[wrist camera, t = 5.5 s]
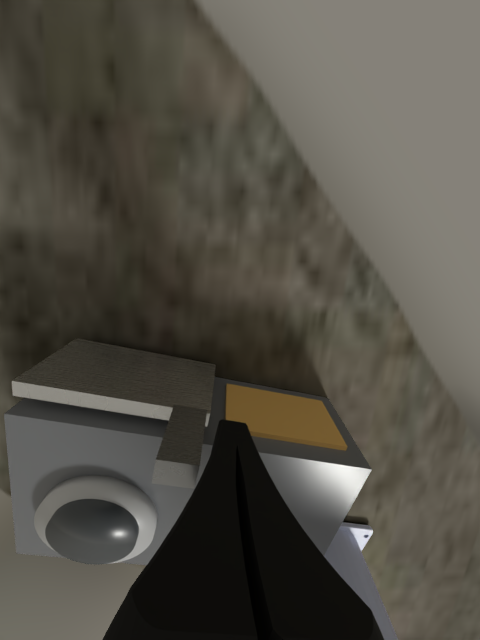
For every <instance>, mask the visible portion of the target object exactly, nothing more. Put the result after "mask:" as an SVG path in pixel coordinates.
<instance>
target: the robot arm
mask: <svg viewBox="0 0 480 640" xmlns="http://www.w3.org/2000/svg"><path fill="white" fill-rule="evenodd" d="M372 534H373V530H372V528H371V526H369V525H362V524H354V523H346V522H342V524H341V526H340V527H339V529H338V531H337V533H336V535H335V536H334V538H333V540H332V542H331V544H330V545H329V547H328V549H327V551H326V553H325V555H324V556H323V555H322V553H321V552H320V551H319V549H318V548H317V547H316V545H315V544H314V543H313V541H312V540H311V539H310V537H309V536H308V535H307V533H306V532H305V531H304V529H303V528H302V527H301V525H300V524H299V522H298V521H297V519H296V518H295V516H294V515H293V514H292V512H291V511H290V509H289V507H288V506H287V504H286V503H285V501H284V499H283V498H282V496H281V495H280V493H279V491H278V489H277V488H276V486H275V484H274V482H273V480H272V479H271V477H270V475H269V473H268V471H267V469H266V467H265V465H264V463H263V461H262V459H261V457H260V455H259V453H258V450H257V448H256V446H255V443H254V441H253V439H252V436H251V434H250V431H249V429H248V426H247V424H246V423H242V422H236V421H230V420H224V419H222V420H220V421H219V424H218V427H217V431H216V435H215V439H214V443H213V446H212V450H211V455H210V458H209V460H208V462H207V465H206V467H205V469H204V471H203V473H202V476H201V478H200V480H199V482H198V484H197V486H196V488H195V489H194V491H193V493H192V495H191V497H190V499H189V500H188V502H187V504H186V506H185V507H184V509H183V511H182V513H181V514H180V516H179V518H178V519H177V521H176V522H175V524H174V526H173V527H172V529H171V530H170V532H169V533H168V535H167V536H166V538H165V539H164V541H163V542H162V544H161V545H160V547H159V549H158V550H157V551H156V553H155V554H154V556H153V557H152V559H151V560H150V561H149V563H148V564H147V566H146V567H145V568H144V570H143V571H142V572H141V574H140V575H139V577H138V578H137V579H136V581H135V582H134V584H133V585H132V586H131V588H130V590H129V592H128V594H127V596H126V598H125V600H124V601H123V603H122V605H121V606H120V608H119V610H118V612H117V614H116V615H115V617H114V619H113V621H112V623H111V624H110V627H109V628H108V630H107V632H106V634H105V636H104V638H103V640H398V638H397V635H396V633H395V631H394V628H393V626H392V623H391V621H390V619H389V616H388V614H387V612H386V609H385V607H384V604H383V602H382V600H381V597H380V595H379V592H378V590H377V588H376V585H375V583H374V581H373V578H372V576H371V573H370V571H369V569H368V566H367V564H366V561H365V559H364V557H363V554H362V552H361V551H362V549H363V548H364V546H365V545H366V543H367V541H368V540H369V538H370V537H371V535H372Z"/></svg>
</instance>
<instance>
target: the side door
mask: <svg viewBox="0 0 480 640" xmlns="http://www.w3.org/2000/svg"><path fill="white" fill-rule="evenodd" d="M215 367H216V365H215V364H210V363H205V362H199V361H194V360H189V359H184V358H179V357H173V356H168V355H163V354H158V353H152V352H147V351H142V350H137V349H131V348H126V347H121V346H116V345H110V344H105V343H100V342H95V341H89V340H84V339H79V338H76V339H75V340H73V341H72V342H70V343H69V344H67V345H66V346H64V347H63V348H61V349H60V350H58V351H57V352H55V353H53V354H52V355H50V356H49V357H47V358H46V359H44V360H43V361H41V362H40V363H38V364H37V365H35V366H34V367H32V368H31V369H29V370H28V371H26V372H24V373H23V374H21V375H20V376H18V377H17V378H15V379H14V380H12V391H13V396H18V397H25V398H31V399H37V400H43V401H50V402H56V403H62V404H68V405H75V406H81V407H87V408H93V409H100V410H106V411H112V412H118V413H125V414H131V415H137V416H143V417H150V418H156V419H162V420H168V424H167V427H166V430H165V433H164V436H163V439H162V442H161V445H160V448H159V451H158V454H157V457H156V460H155V466H154V472H153V478H152V483H153V484H161V485H169V486H176V487H184V488H192V489H194V487H195V483H196V479H197V475H198V471H199V467H200V460H201V453H202V445H203V437H204V430H205V426H206V427H207V426H208V422H209V417H210V413H211V404H212V395H213V386H214V377H215Z"/></svg>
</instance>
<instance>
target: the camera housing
mask: <svg viewBox="0 0 480 640" xmlns="http://www.w3.org/2000/svg"><path fill="white" fill-rule="evenodd" d="M4 418H5V429H6V441H7V452H8V463H9V475H10V486H11V497H12V509H13V520H14V531H15V543H16V553H19V554H30V555H41V556H52V557H63V558H68V559H70V560H73V561H76V562H80V563H85V564H108V563H117V562H118V563H129V564H140V565H147V564H148V563H149V561H150V560H151V559H152V557H153V556H154V554H155V553H156V551H157V550H158V549H159V547H160V545H161V544H162V542H163V541H164V539H165V538H166V536H167V535H168V533H169V532H170V530H171V529H172V527H173V526H174V524H175V522H176V521H177V519H178V518H179V516H180V514H181V513H182V511H183V509H184V507H185V506H186V504H187V502H188V500H189V499H190V497H191V495H192V493H193V491H194V489H195V488H196V486H197V484H198V482H199V480H200V478H201V476H202V473H203V471H204V469H205V467H206V465H207V462H208V460H209V458H210V455H211V450H212V446H213V443H214V439H215V435H216V431H217V427H218V424H219V421H220V420H222V419H224V420H230V421H236V422H242V423H246V424H247V426H248V429H249V431H250V434H251V436H252V439H253V441H254V443H255V446H256V448H257V450H258V453H259V455H260V457H261V459H262V461H263V463H264V465H265V467H266V469H267V471H268V473H269V475H270V477H271V479H272V480H273V482H274V484H275V486H276V488H277V489H278V491H279V493H280V495H281V496H282V498H283V499H284V501H285V503H286V504H287V506H288V507H289V509H290V511H291V512H292V514H293V515H294V516H295V518H296V519H297V521H298V522H299V524H300V525H301V527H302V528H303V529H304V531H305V532H306V533H307V535H308V536H309V537H310V539H311V540H312V541H313V543H314V544H315V545H316V547H317V548H318V549H319V551H320V552H321V553H322V555H323V556H324V555H325V553H326V551H327V549H328V547H329V545H330V544H331V542H332V540H333V538H334V536H335V535H336V533H337V531H338V529H339V527H340V526H341V524H342V522H343V520H344V518H345V517H346V515H347V513H348V511H349V509H350V508H351V506H352V504H353V502H354V500H355V499H356V497H357V495H358V493H359V491H360V490H361V488H362V486H363V484H364V482H365V481H366V479H367V477H368V475H369V473H370V472H371V470H372V469H371V467H370V466H369V464H368V463H367V461H366V459H365V458H364V456H363V454H362V453H361V451H360V450H359V448H358V446H357V445H356V443H355V441H354V440H353V438H352V436H351V435H350V433H349V432H348V430H347V428H346V427H345V425H344V423H343V422H342V420H341V419H340V417H339V415H338V414H337V412H336V410H335V409H334V407H333V405H332V404H331V402H330V401H329V399H328V398H326V397H321V396H316V395H310V394H305V393H299V392H294V391H288V390H283V389H278V388H272V387H267V386H261V385H256V384H251V383H245V382H240V381H234V380H229V379H224V378H218V377H214V386H213V395H212V404H211V413H210V417H209V422H208V426H207V427H206V426H205V430H204V437H203V445H202V453H201V460H200V467H199V471H198V475H197V479H196V483H195V487H194V489H192V488H184V487H176V486H169V485H161V484H153V483H152V478H153V472H154V466H155V460H156V457H157V454H158V451H159V448H160V445H161V442H162V439H163V436H164V433H165V430H166V427H167V424H168V420H162V419H156V418H150V417H143V416H137V415H131V414H125V413H118V412H112V411H106V410H100V409H93V408H87V407H81V406H75V405H68V404H62V403H56V402H50V401H43V400H37V399H31V398H24V399H22V400H21V401H20V402H19V403H17V404H16V405H15V406H13V407H12V408H11V409H10V410H8V411H7V412H6V413H5V414H4Z"/></svg>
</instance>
